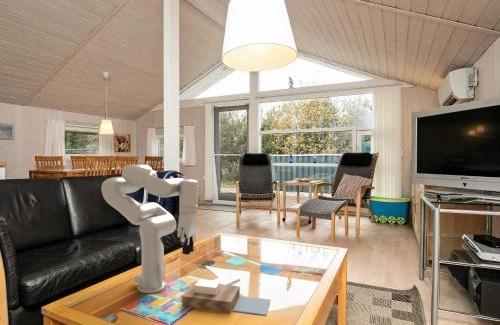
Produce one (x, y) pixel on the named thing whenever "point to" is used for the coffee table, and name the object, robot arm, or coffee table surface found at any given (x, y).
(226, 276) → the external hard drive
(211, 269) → the coffee table surface
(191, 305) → the block
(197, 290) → the white rectangular block
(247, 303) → the mat
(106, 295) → the coffee table surface
